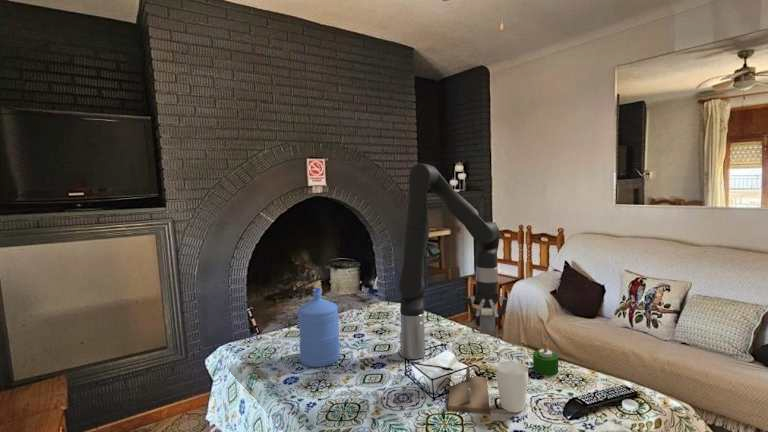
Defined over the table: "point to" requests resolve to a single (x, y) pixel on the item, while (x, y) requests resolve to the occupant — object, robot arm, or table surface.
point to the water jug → (318, 332)
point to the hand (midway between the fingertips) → (486, 325)
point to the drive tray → (470, 395)
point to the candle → (545, 362)
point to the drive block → (487, 321)
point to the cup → (512, 385)
